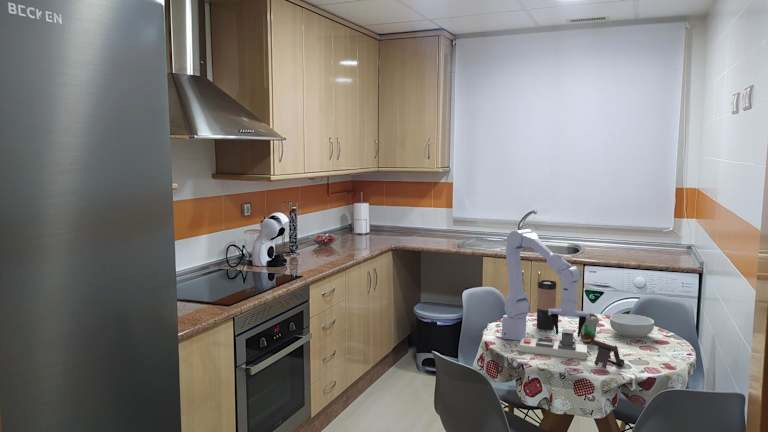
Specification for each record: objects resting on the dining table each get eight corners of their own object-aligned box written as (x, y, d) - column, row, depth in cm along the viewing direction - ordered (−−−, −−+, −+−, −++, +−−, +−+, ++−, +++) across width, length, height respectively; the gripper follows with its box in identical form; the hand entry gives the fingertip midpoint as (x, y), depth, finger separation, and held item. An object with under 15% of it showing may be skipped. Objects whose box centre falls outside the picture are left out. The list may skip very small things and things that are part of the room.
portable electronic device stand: (624, 366, 210) (626, 343, 209) (610, 370, 206) (611, 347, 205) (603, 358, 217) (604, 336, 217) (589, 362, 213) (590, 340, 212)
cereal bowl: (633, 328, 255) (634, 312, 255) (662, 339, 240) (663, 322, 239) (600, 331, 250) (601, 315, 249) (628, 343, 234) (629, 326, 234)
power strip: (519, 351, 224) (519, 341, 224) (521, 344, 233) (522, 334, 232) (586, 359, 216) (586, 349, 216) (586, 351, 225) (587, 341, 224)
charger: (561, 348, 221) (561, 332, 220) (561, 343, 226) (562, 328, 225) (572, 349, 219) (573, 333, 219) (572, 345, 224) (573, 329, 224)
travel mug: (556, 330, 250) (558, 284, 248) (538, 330, 250) (540, 283, 248) (551, 325, 258) (553, 280, 256) (534, 325, 258) (536, 279, 256)
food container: (600, 345, 232) (601, 320, 231) (583, 344, 233) (584, 319, 232) (595, 336, 244) (596, 312, 243) (579, 335, 245) (580, 311, 244)
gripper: (548, 300, 219) (546, 336, 221) (589, 303, 214) (588, 340, 216) (549, 295, 226) (548, 330, 227) (590, 299, 221) (588, 334, 222)
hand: (567, 335), depth 222 cm, fingers open, 7 cm apart
